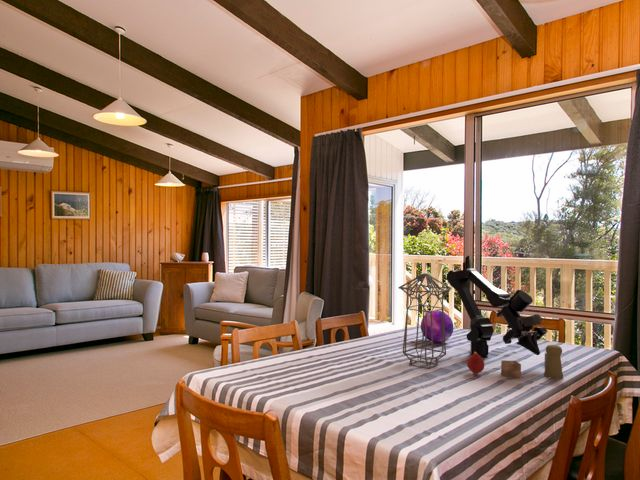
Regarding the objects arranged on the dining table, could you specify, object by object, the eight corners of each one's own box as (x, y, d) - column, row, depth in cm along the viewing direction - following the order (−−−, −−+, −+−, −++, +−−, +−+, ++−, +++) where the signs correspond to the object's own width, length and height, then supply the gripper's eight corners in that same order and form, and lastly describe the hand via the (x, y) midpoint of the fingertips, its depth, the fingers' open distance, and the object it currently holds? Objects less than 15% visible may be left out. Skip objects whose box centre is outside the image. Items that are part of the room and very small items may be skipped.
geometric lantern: (452, 365, 177) (454, 273, 177) (431, 374, 166) (433, 276, 165) (416, 357, 188) (417, 270, 188) (393, 365, 177) (395, 272, 176)
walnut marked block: (506, 378, 162) (506, 363, 162) (501, 374, 167) (501, 359, 167) (520, 378, 162) (521, 363, 162) (515, 374, 167) (515, 360, 167)
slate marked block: (544, 366, 180) (544, 352, 180) (544, 363, 185) (545, 350, 185) (559, 368, 178) (559, 354, 178) (559, 365, 182) (559, 351, 182)
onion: (484, 373, 168) (484, 350, 168) (484, 377, 162) (484, 354, 162) (467, 371, 169) (467, 349, 170) (466, 375, 164) (467, 352, 164)
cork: (565, 379, 162) (565, 347, 162) (546, 378, 163) (547, 346, 163) (560, 374, 168) (560, 344, 168) (542, 373, 169) (542, 343, 169)
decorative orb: (457, 346, 212) (457, 313, 212) (423, 345, 213) (424, 312, 213) (448, 339, 227) (449, 308, 227) (417, 338, 228) (418, 308, 228)
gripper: (509, 307, 171) (535, 343, 161) (543, 305, 179) (570, 339, 169) (492, 325, 178) (516, 361, 168) (525, 322, 186) (550, 356, 176)
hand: (538, 354), depth 170 cm, fingers closed
